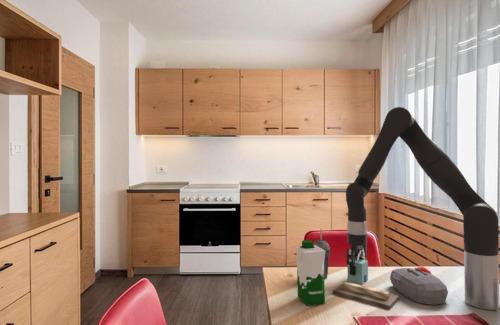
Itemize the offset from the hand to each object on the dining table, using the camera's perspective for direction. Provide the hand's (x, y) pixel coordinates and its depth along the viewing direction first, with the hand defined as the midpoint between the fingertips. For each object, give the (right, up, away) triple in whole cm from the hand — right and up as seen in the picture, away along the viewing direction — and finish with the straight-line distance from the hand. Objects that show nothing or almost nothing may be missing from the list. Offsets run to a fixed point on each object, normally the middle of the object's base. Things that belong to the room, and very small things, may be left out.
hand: (357, 272), depth 130 cm
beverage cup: (-14, -4, +4) cm, 15 cm away
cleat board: (-2, -3, -15) cm, 16 cm away
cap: (+25, -3, -2) cm, 25 cm away
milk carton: (-22, -4, -18) cm, 29 cm away
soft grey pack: (+17, -4, -14) cm, 23 cm away
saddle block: (0, -3, 0) cm, 3 cm away
